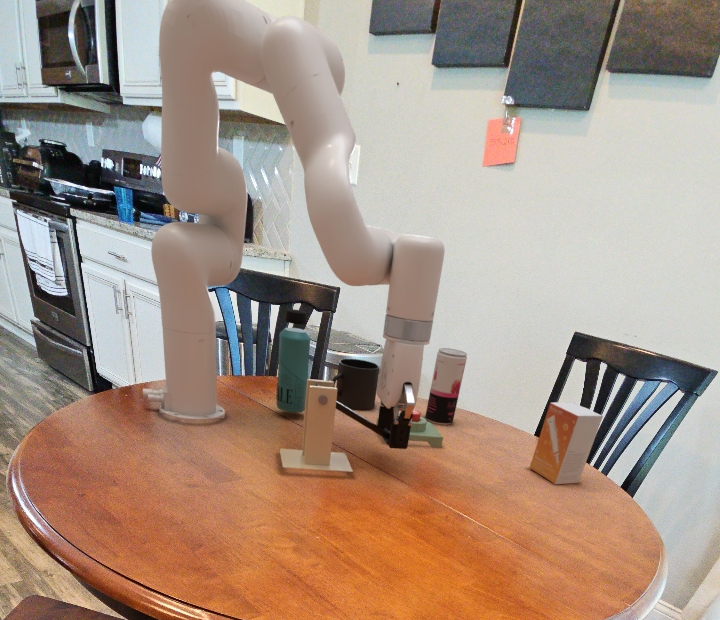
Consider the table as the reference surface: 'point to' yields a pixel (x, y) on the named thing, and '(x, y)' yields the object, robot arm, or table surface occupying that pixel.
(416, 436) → the control block
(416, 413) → the button
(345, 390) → the mug
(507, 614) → the table surface
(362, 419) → the lever
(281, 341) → the beverage bottle
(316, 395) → the bracket
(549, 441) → the small box
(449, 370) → the beverage can
